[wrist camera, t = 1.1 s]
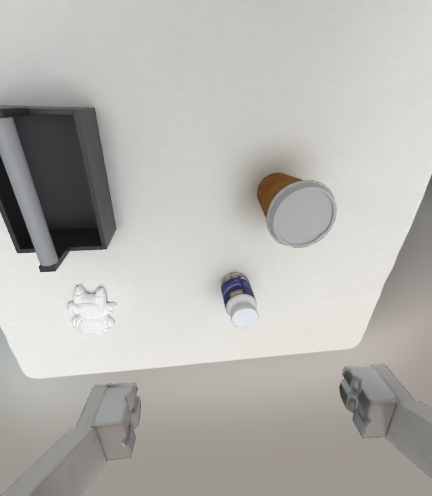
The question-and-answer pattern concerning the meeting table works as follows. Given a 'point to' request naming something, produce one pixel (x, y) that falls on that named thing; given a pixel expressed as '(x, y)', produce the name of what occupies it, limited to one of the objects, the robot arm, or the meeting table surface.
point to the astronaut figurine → (91, 311)
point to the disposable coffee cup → (296, 209)
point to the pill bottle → (239, 300)
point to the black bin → (53, 182)
